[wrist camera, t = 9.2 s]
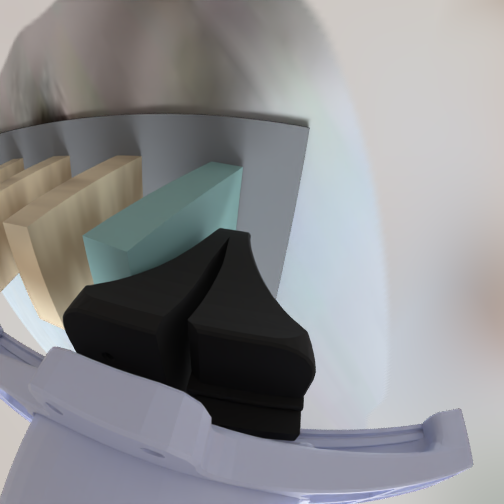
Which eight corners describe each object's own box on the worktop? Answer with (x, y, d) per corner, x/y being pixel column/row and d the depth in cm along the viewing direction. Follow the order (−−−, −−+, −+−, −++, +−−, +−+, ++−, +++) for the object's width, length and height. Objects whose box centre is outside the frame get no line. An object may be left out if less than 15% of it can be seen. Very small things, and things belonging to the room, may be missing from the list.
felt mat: (269, 322, 20) (269, 325, 20) (3, 255, 22) (1, 256, 21) (308, 127, 13) (309, 128, 13) (-22, 139, 14) (-25, 140, 14)
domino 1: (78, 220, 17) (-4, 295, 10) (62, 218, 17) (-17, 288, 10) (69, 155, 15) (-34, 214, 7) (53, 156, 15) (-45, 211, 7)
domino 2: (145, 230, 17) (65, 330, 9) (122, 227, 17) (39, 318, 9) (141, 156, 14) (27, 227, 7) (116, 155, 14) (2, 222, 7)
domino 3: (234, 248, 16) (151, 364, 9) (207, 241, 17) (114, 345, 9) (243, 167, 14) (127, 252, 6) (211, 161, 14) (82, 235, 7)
